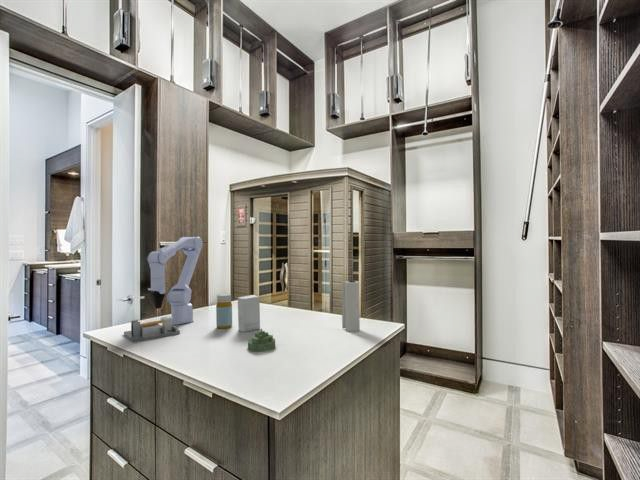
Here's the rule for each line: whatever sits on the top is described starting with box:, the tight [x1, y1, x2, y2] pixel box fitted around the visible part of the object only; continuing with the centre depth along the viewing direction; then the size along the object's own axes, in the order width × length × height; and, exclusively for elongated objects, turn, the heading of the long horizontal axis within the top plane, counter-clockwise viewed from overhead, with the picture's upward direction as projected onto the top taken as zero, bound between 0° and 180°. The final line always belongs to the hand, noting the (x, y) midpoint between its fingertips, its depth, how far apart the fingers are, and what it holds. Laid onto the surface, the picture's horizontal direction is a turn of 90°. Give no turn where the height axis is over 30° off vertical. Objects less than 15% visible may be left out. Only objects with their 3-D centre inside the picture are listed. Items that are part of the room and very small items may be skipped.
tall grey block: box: [341, 280, 361, 333], centre depth 145 cm, size 7×6×21 cm
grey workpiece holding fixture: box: [123, 319, 181, 343], centre depth 142 cm, size 18×16×6 cm
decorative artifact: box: [247, 328, 276, 353], centre depth 123 cm, size 10×7×10 cm
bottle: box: [215, 293, 233, 330], centre depth 153 cm, size 7×7×15 cm
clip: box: [160, 316, 173, 331], centre depth 145 cm, size 3×6×5 cm, turn 42°
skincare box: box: [237, 294, 261, 333], centre depth 148 cm, size 8×6×15 cm
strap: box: [140, 319, 162, 327], centre depth 143 cm, size 13×2×1 cm, turn 132°
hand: (158, 308), depth 148 cm, fingers closed
